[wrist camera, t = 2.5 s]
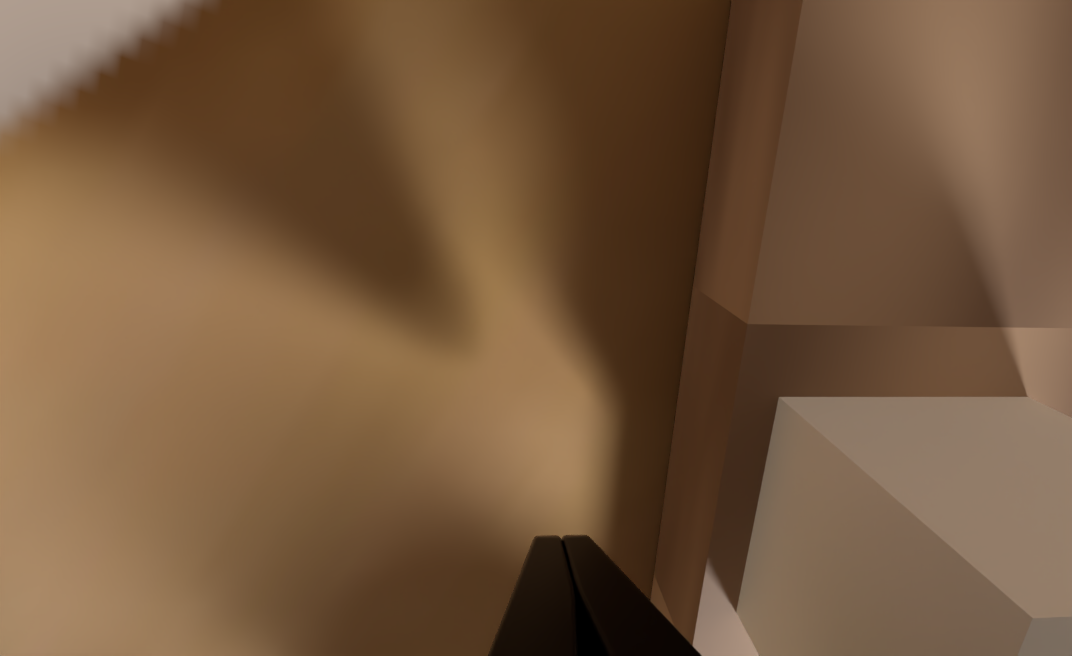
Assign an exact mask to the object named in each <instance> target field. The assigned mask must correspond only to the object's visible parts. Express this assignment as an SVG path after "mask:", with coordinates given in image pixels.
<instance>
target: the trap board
mask: <svg viewBox="0 0 1072 656" xmlns="http://www.w3.org/2000/svg"><path fill="white" fill-rule="evenodd" d="M779 397H1029V398H1031V399H1033V400H1035V401H1037V402H1040V403H1042V404H1044V405H1046V406H1048V407H1050V408H1052V409H1054V410H1056V411H1059V412H1061V413H1063V414H1065V415H1067V416H1069V417H1071V418H1072V0H732V1H731V9H730V16H729V23H728V31H727V38H726V45H725V53H724V60H723V68H722V75H721V82H720V90H719V97H718V104H717V112H716V119H715V127H714V134H713V141H712V149H711V156H710V164H709V171H708V178H707V186H706V193H705V200H704V208H703V215H702V223H701V230H700V237H699V245H698V252H697V260H696V267H695V274H694V282H693V289H692V296H691V304H690V311H689V319H688V326H687V333H686V341H685V348H684V355H683V363H682V370H681V378H680V385H679V392H678V400H677V407H676V415H675V422H674V429H673V437H672V444H671V451H670V459H669V466H668V474H667V481H666V488H665V496H664V503H663V511H662V518H661V525H660V533H659V540H658V547H657V555H656V562H655V570H654V577H653V584H652V592H651V599H650V601H651V602H652V603H653V604H654V605H655V607H656V608H657V609H658V610H659V611H660V612H661V613H662V614H663V615H664V616H665V617H666V618H667V619H668V620H669V621H670V622H671V623H672V624H673V625H674V627H675V628H676V629H677V630H678V631H679V632H680V633H681V634H682V635H683V636H684V637H685V638H686V639H687V640H688V641H689V642H690V643H691V645H692V646H693V647H694V648H695V649H696V650H697V651H698V652H699V653H700V654H701V655H702V656H759V654H758V652H757V650H756V648H755V647H754V645H753V643H752V641H751V639H750V637H749V635H748V634H747V632H746V630H745V628H744V626H743V624H742V622H741V620H740V619H739V617H738V615H737V613H736V611H737V606H738V600H739V595H740V590H741V585H742V580H743V575H744V570H745V565H746V560H747V555H748V550H749V545H750V540H751V535H752V530H753V525H754V520H755V515H756V510H757V505H758V500H759V495H760V490H761V484H762V479H763V474H764V469H765V464H766V459H767V454H768V449H769V444H770V439H771V434H772V429H773V424H774V419H775V414H776V409H777V404H778V399H779Z"/></svg>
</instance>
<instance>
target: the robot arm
mask: <svg viewBox="0 0 1072 656" xmlns="http://www.w3.org/2000/svg"><path fill="white" fill-rule="evenodd" d="M488 656H702V655H701V654H700V653H699V652H698V651H697V650H696V649H695V648H694V647H693V646H692V645H691V643H690V642H689V641H688V640H687V639H686V638H685V637H684V636H683V635H682V634H681V633H680V632H679V631H678V630H677V629H676V628H675V627H674V625H673V624H672V623H671V622H670V621H669V620H668V619H667V618H666V617H665V616H664V615H663V614H662V613H661V612H660V611H659V610H658V609H657V608H656V607H655V605H654V604H653V603H652V602H651V601H650V600H649V599H648V598H647V597H646V596H645V595H644V594H643V593H642V592H641V591H640V590H639V589H638V588H637V586H636V585H635V584H634V583H633V582H632V581H631V580H630V579H629V578H628V577H627V576H626V575H625V574H624V573H623V572H622V571H621V570H620V569H619V567H618V566H617V565H616V564H615V563H614V562H613V561H612V560H611V559H610V558H609V557H608V556H607V555H606V554H605V553H604V552H603V551H602V550H601V548H600V547H599V546H598V545H597V544H596V543H595V542H594V541H593V540H592V539H591V538H590V537H589V536H587V535H564V536H563V537H562V539H561V538H560V537H559V536H557V535H550V536H536V537H535V538H534V539H533V541H532V544H531V546H530V549H529V552H528V554H527V557H526V559H525V562H524V564H523V567H522V569H521V572H520V575H519V577H518V580H517V582H516V585H515V587H514V590H513V593H512V595H511V598H510V600H509V603H508V605H507V608H506V610H505V613H504V616H503V618H502V621H501V623H500V626H499V628H498V631H497V634H496V636H495V639H494V641H493V644H492V646H491V649H490V651H489V654H488Z"/></svg>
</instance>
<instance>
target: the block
mask: <svg viewBox="0 0 1072 656" xmlns="http://www.w3.org/2000/svg"><path fill="white" fill-rule="evenodd" d="M736 613H737V615H738V617H739V619H740V620H741V622H742V624H743V626H744V628H745V630H746V632H747V634H748V635H749V637H750V639H751V641H752V643H753V645H754V647H755V648H756V650H757V652H758V654H759V656H1072V418H1071V417H1069V416H1067V415H1065V414H1063V413H1061V412H1059V411H1056V410H1054V409H1052V408H1050V407H1048V406H1046V405H1044V404H1042V403H1040V402H1037V401H1035V400H1033V399H1031V398H1029V397H779V399H778V404H777V409H776V414H775V419H774V424H773V429H772V434H771V439H770V444H769V449H768V454H767V459H766V464H765V469H764V474H763V479H762V484H761V490H760V495H759V500H758V505H757V510H756V515H755V520H754V525H753V530H752V535H751V540H750V545H749V550H748V555H747V560H746V565H745V570H744V575H743V580H742V585H741V590H740V595H739V600H738V606H737V611H736Z"/></svg>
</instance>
